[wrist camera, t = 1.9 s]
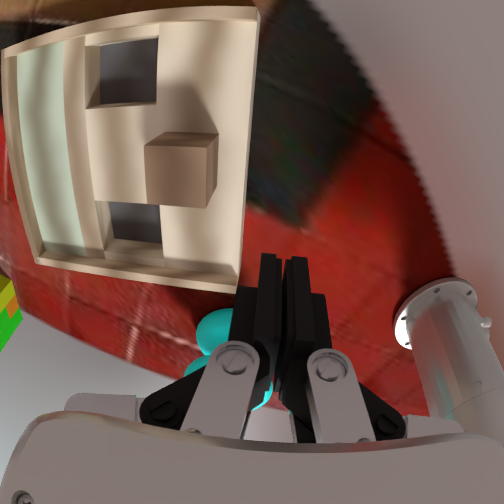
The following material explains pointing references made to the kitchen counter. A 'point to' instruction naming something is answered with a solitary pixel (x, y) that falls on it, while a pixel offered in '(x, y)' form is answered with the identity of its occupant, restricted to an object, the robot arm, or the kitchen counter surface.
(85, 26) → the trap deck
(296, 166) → the kitchen counter surface
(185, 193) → the walnut block
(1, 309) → the puzzle toy
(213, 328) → the donuts
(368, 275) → the kitchen counter surface
